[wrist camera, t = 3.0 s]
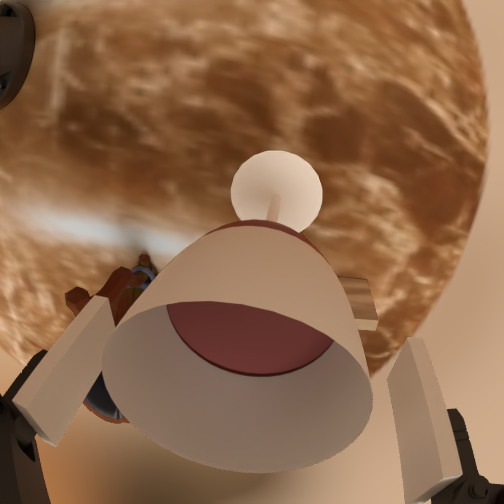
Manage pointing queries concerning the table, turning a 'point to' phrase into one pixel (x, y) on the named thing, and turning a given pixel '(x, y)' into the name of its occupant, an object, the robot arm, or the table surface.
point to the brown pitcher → (120, 299)
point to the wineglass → (246, 338)
